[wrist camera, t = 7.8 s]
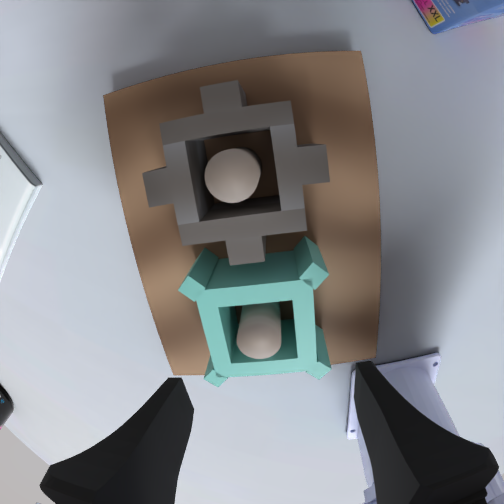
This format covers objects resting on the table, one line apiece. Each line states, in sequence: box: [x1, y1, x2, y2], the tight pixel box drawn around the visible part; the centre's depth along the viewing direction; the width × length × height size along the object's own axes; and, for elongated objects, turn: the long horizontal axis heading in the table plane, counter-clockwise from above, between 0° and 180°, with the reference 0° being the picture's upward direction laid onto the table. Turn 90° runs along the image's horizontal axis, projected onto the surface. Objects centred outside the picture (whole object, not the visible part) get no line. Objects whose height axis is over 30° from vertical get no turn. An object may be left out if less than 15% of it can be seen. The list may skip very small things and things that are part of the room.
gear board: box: [103, 51, 381, 375], centre depth 17 cm, size 20×15×6 cm
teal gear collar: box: [178, 236, 331, 387], centre depth 17 cm, size 7×7×4 cm
